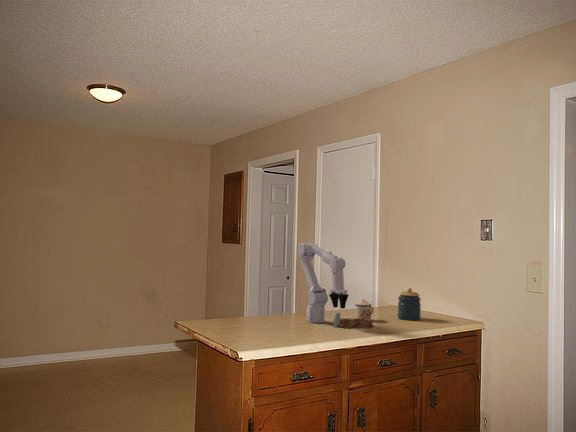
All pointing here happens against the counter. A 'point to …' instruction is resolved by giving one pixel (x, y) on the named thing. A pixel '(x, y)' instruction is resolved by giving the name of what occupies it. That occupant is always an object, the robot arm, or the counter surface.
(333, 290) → the robot arm
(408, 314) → the canister
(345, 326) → the groove board
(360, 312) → the teacup with lid
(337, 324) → the peg
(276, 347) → the counter surface
